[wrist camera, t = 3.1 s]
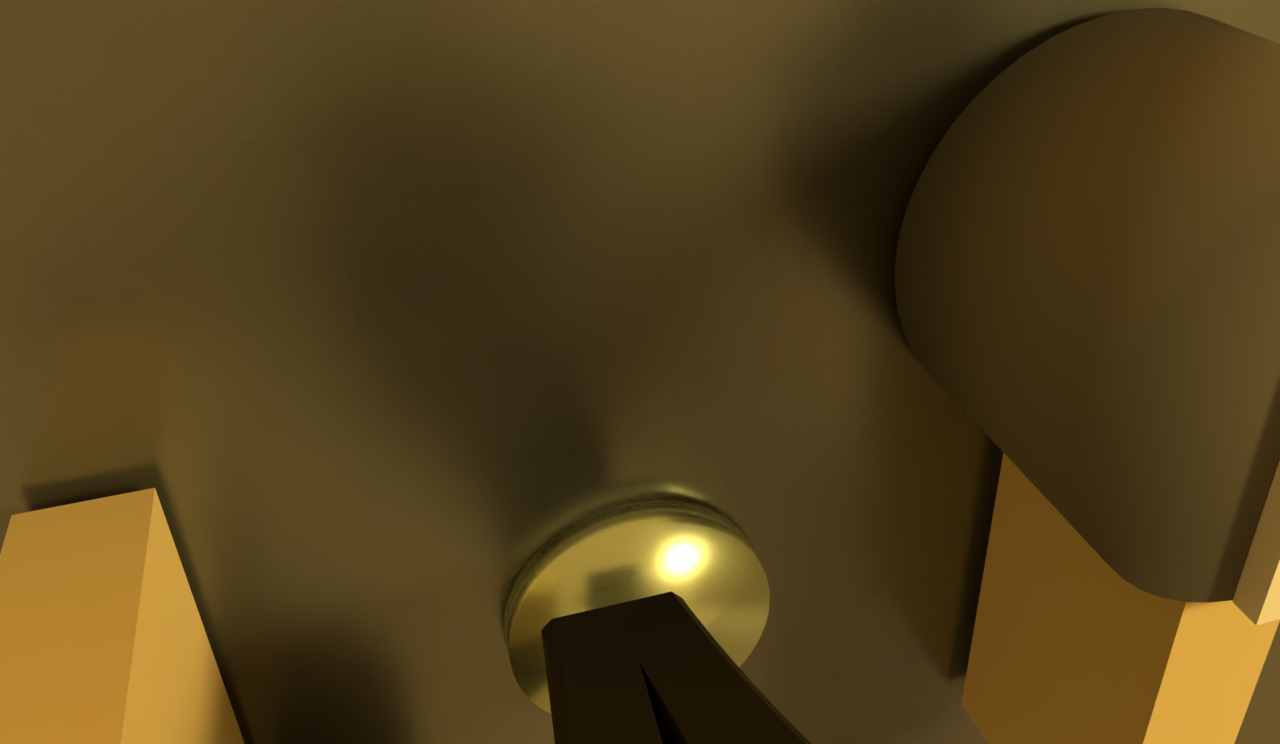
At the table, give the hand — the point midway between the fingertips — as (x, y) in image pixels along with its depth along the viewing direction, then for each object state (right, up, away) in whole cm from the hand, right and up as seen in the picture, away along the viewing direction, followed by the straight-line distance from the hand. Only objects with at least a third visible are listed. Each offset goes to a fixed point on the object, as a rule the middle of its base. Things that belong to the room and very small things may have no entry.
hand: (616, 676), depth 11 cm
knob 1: (+5, +3, +2) cm, 6 cm away
